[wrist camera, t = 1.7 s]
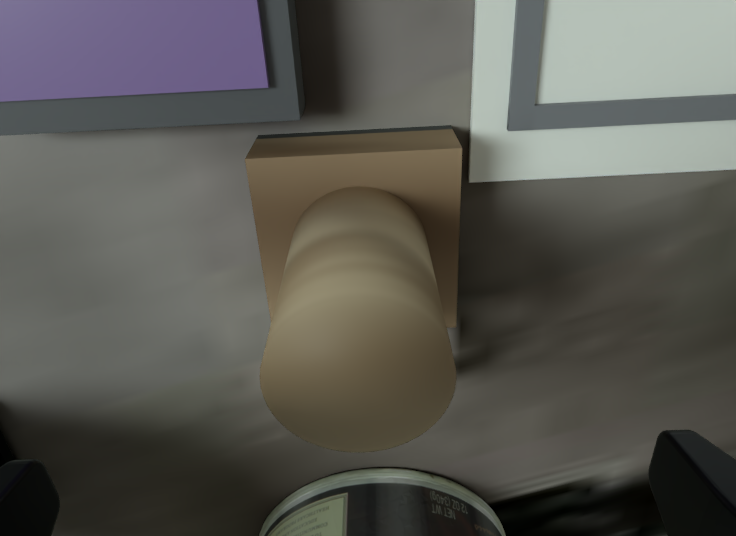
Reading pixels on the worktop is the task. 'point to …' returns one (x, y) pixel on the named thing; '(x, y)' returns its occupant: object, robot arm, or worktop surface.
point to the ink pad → (147, 64)
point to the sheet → (602, 88)
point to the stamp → (358, 280)
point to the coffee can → (382, 507)
